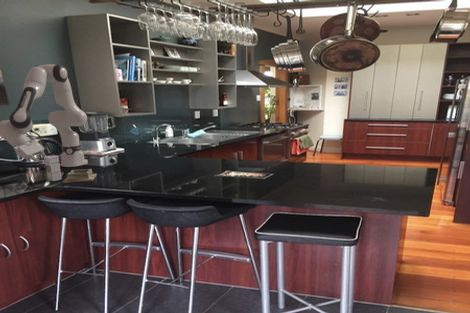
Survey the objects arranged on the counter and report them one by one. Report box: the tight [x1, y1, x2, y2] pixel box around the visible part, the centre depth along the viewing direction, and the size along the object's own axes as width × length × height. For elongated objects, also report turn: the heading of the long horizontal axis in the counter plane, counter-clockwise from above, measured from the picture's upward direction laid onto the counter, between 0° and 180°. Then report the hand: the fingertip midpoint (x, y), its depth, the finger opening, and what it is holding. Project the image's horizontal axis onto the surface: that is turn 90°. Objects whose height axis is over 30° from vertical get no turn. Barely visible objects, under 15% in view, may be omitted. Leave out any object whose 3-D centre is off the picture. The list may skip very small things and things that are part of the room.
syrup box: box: [43, 154, 62, 182], centre depth 196 cm, size 6×6×14 cm
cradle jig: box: [62, 168, 98, 184], centre depth 198 cm, size 14×16×4 cm
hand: (41, 159), depth 195 cm, fingers open, 8 cm apart
